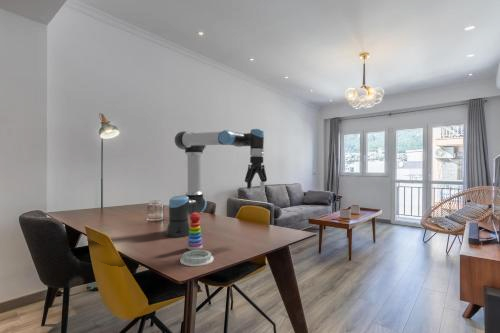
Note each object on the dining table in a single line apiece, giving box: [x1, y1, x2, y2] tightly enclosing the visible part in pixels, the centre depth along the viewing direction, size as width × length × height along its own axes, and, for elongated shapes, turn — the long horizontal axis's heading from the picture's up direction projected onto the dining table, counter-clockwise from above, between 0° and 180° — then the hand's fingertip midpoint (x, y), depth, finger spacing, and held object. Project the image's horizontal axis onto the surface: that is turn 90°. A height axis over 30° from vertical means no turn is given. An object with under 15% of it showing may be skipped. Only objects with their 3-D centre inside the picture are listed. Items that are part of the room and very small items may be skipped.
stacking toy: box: [186, 213, 204, 251], centre depth 137 cm, size 8×8×19 cm
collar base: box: [179, 249, 215, 267], centre depth 121 cm, size 15×15×3 cm
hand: (256, 193), depth 151 cm, fingers open, 13 cm apart
